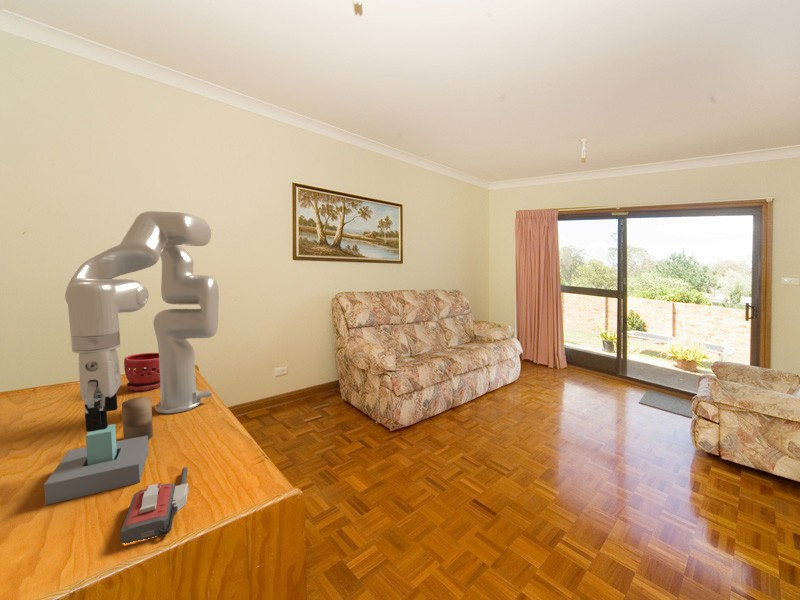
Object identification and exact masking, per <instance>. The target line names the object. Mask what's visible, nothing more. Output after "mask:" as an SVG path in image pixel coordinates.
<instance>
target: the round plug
mask: <svg viewBox="0 0 800 600" xmlns="http://www.w3.org/2000/svg"><path fill="white" fill-rule="evenodd" d="M152 408H153V407H152V398H151V397H148V396H140V397H134V398H130V399H126V400H124V401H123V402H122V403H121V409H122V410H121V411H122V412H121V413H122V414H121V415H122V430H123V433H122V435H123V440H126V439H131V438H137V437H142V436H147V435H148V441H149V440H151V439H152V438H153V436H154V434H153V433H154V432H153V431H154V430H153V429H154V428H153V415H152V414H153V412H152V411H153V409H152Z"/></svg>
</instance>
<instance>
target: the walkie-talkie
mask: <svg viewBox="0 0 800 600" xmlns="http://www.w3.org/2000/svg"><path fill="white" fill-rule="evenodd" d="M188 471H189V470H188V467H187V466H185V467H183V468H182V470H181V474H180V483H179V485H176V483H170V482H169V483H165V484H162V483H161V482H159V483H154V484H150V485H146V487H145V488H144V489H140V490H138V491H137V492H136V493H134V494H133V496H132V499H131V501H130V504H129V507H128V509H127V513H126V515H125V518H124V520H123V521H124V522H123V524H122V526H121V528H120V529H121V530H120V544H121V543H125V544H126V543H130V542H133V541H138V540H143V539H148V538H152V537H155V536H160V535H163V536H166V535H168V534H169V533H170V532H171V531H172V527H173V521H174V517H175V516H174V515H175V514H176V513H178V512H179V511H180V510H181V509H182V508H183V507H185V506H186V504H187V500H188V494H190V493H189V491H190V490H189V483H188V482H187V478H188V477H187V476H188ZM160 537H161V536H160Z"/></svg>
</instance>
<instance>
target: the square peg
mask: <svg viewBox="0 0 800 600" xmlns="http://www.w3.org/2000/svg"><path fill="white" fill-rule="evenodd" d="M116 433H117V432H116V423H114V424H113V423H112V424H108V427H107V428H106V429H103V430H97V431H92V432H87V433H86V435H85V443H86V446H85V447H87V463H88V465H93V464H97V463H102V462H107V461H112V460H116V459H117V447H116V441H117V434H116Z"/></svg>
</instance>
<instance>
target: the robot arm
mask: <svg viewBox="0 0 800 600" xmlns="http://www.w3.org/2000/svg"><path fill="white" fill-rule="evenodd" d="M211 239H212V229H211V227H210V224H209V223H208V222H207V220H205V219H203V218H201V217H199V216H195V215H193V214H190V213H184V212H176V211H155V210H154V211H153V210H150V211H144V212H140V214H139V215H138V216H136V218H135V219H134V221H133V223H132V224H131V226H130V227H129V229H128V231H127V232H126V234H125V235H124V237H123V238H122V240H121V241H120V244H118V245H115V246H113V247H110V248H109V249H107V250H104V251H102V252H101V253H98V254H96V255H95V256H92V257H91V258H89V259H87V260H86V261H85V262H83V263H82V264H81V265H80V266H79V267H78V269H77V270H76V271H75V273H74V274H73V276H72V277H71V278H70V280H69V281H68V284H67V286H66V289H65V292H64V293H65V294H64V298H65V302H66V304H67V309H68V310H67V311H68V321H69V331H70V341H71V344H70V345H71V352H72V353H75V354H78V374H79V376H78V377H79V389H80V397H81V399H82V401H84V402H85V404H84V420H85V429H86V432H87V433H88V432H92V431H97V430H103V429H106V428H107V427H108V425H109V424H108V412H111V411H112V412H113V411H116V410H117V409H118V408H119V406H118V395H117V392H118V390H119V389H120V386H121V384H122V377H121V370H120V369H121V368H120V362H119V361H120V360H119V356H118V348H120V347H121V337H120V335H121V334H120V321H119V314H121V313H133V312H137V311H139V310H141V309H142V308H144V307H145V306H146V305H147V303H148V302H149V290H148V288H147V287H146V286H145V284H144V283H142V282H140V281H138V280H134V279H125V278H124V279H123V278H122V279H119V278H118V279H116V278H117V277H119V276H123V275H127V274H130V273H135V272H138V271H142V270H146V269H147V268H151V267H152V266H154V265H156V264H157V263H158V261H159V260H160V258H161V281H160V282H161V283H160V284H161V285H160V293H161V295H160V296H161V299H162V301H163V302H165V303H166V304H170V305H179V306H180V305H181V306H182V305H183V306H184V305H196V306H197V305H199V307H200V308H169V309H163V310H161V311H159V312H158V313H156V315H155V316H154V318H153V331H154V333H155V337H156V341H157V348H158V353H159V369H160V386H159V388H160V389H159V391H160V402H157V403H156V404H155V406H154V410H155V411H156V412H157V413H159V414H175V413H176V414H177V413H182V412H187V411H190V410H193V409H195V408H197V407H199V406H200V405H201V404H202V402H203V401H202V398H211V397H212V396H213V395H212V394H213V393H212V390H208V389H205V390H198V387H196V385H197V383H196V361H195V360H196V358H195V350H194V347H193V346H192V344H191V343H190V342H189V341H188V339H210V338H213V337H214V336H215V335H216V334H217V332H218V328H219V327H218V326H219V297H220V296H219V291H220V290H219V285H218V282H217V280H216V279H215V278H214V277H213V276H210V275H201V274H200V275H199V274H198V275H197V274H195V275H194V260H193V258H192V256H191V255H190V253H189V252H188V251H187V250H186V249H185V248H184V247H185V246H186V247H187V246H188V247H205V246H207V245H208V244H209V242H210V241H211ZM183 246H184V247H183ZM201 401H202V402H201ZM200 403H201V404H200ZM199 404H200V405H199ZM198 405H199V406H198ZM196 406H197V407H196ZM194 407H195V408H194ZM192 408H193V409H192Z"/></svg>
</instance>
